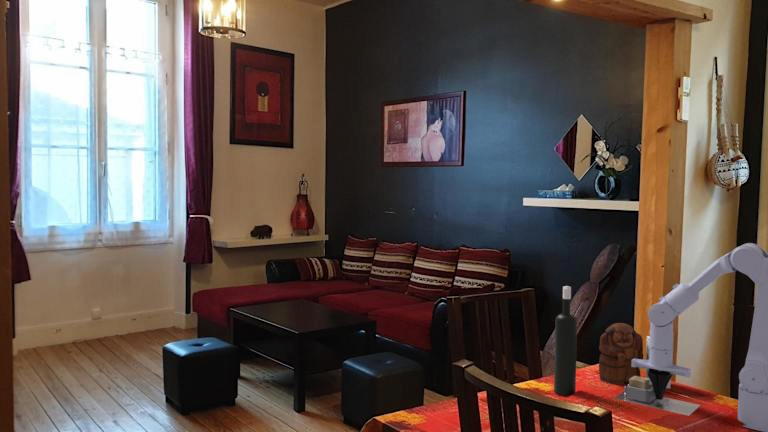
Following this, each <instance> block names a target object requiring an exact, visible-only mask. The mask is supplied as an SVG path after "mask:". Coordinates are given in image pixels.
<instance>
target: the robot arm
mask: <svg viewBox="0 0 768 432" xmlns="http://www.w3.org/2000/svg"><path fill="white" fill-rule="evenodd" d="M737 271H738V272H740V273H741V274H744V275H746V276H748V278H749V279H751V280H752V282H753V283H754V284H755V285H757V286H756V287H757V289H756V297H755V303H754V309H753V317H752V325H751V331H750V336H749V337H750V338H749V344H748V350H747V353H746V357H745V363H744V366H743V367H742V368H741V370H740V371H739V373H738V379H739V380H738V381H739V384H738V401H737V402H738V404H737V406H738V407H737V420H738V421H739V422H741V423H743V425H742V426H741V427H742V428H745V429H750V430H753V431H754V430H755V431H759V432H768V252H767V251H766V250H764V249H763V248H762V247H761V246H760V245H758V244H756V243H753V242H747V243H744V244H742V245H740V246H737V247H736V248H734V249H733V250H732V251H730V252H728V253H727V254H725V255H722V256H721V257H719V258H717V259H716V260H715V261H714V262H712V263H711V264H710V265H709V266H708V267H707V268H706V269H704V270H703V271H702V272H701V273H700V274H698V276H696V277H695V278H694V279H693V280H692V281H690V282H681V283H679V284H678V283H676V284H675V285H673V286H672V290H671V291H670V292H669V293H667V294H666V295H664V296H663V295H662V296H661V297H660V298H658V300H659V302H657V303H654V304H652V305H651V306H650V308H649V309H648V312H647V317H648V320H649V323H650V327H649V336H650V341H649V360H646V359H643V360H642V359H635V358H634V359H632V362H631V367H639V368H640V369H644V370H646V369H649V372H648V377H649V379H650V381H651V383H652V385H653V388H654V392H655V397H656V399H659V400H662V399H663V397H665V391H666V389H667V388H666V387H667V384H668V382H669V380H670V379H671V380H672V377H673V375H676V376H682V377H684V378H687V379H689V378H690V377H692V376H691V375H692V369H691V368H689V367H683V366H681V365H680V366H679V365H677V364H674V363H673V361H674V360H673V358H674V354H673V353H674V321H675V320H676V318H677V316H680V315H681V314H682V313H684V312H685V311H687V310H688V309H689V308H690V307H692V305H694V304H696V302H698V301H699V299H700V292H701V291H703V290H704V289H705V288H707V287H708V286H709V285H711V284H712V283H713V282H714V281H716V280H717V279H718V278H720V277H721V276H723V275H725V274H730V273H734V272H737Z"/></svg>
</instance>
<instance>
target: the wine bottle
mask: <svg viewBox="0 0 768 432" xmlns="http://www.w3.org/2000/svg"><path fill="white" fill-rule="evenodd" d="M571 299H572V286H569V285H565V286H562V313H559V314H558V315H557V316H556V317H555V327H554V328H555V329H554V333H555V334H554V373H553V374H554V378H553V379H554V380H553V392H554V394H555V393H556V394H555V395H557V394H558V395H557V396H561V395H564V396H563V397H571V396H574V394H576V387H577V386H576V383H577V381H576V378H577V347H578V346H577V343H578V342H577V341H578V338H577V337H578V335H577V333H578V320H577V317H576V316H575V315H574V314H571Z"/></svg>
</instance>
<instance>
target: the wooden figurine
mask: <svg viewBox="0 0 768 432" xmlns="http://www.w3.org/2000/svg"><path fill="white" fill-rule="evenodd" d="M643 341H644V340H643V337H642V335H641V334H640V333H639V332H637V331H636V329H634V328H633V326H631V325H629V324H627V323H624V322H616V323H612V324H610V325H609V326H608V327H607V328H606V329H605V332H603V333H602V334H601V336H599V347H598V350H599V352H600V354H599V360H598V361H599V363H598V375H599V380H600V382H604V383H606V384H609V385H616V386H617V385H618V386H624V385H628V384H629V379H630V378H632V377H634V376H639V377H642V375H641V368H639V367H631V362H632V359H634V358H635V359H642V360H644V353H643V352H644V343H643Z"/></svg>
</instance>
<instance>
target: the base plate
mask: <svg viewBox="0 0 768 432" xmlns="http://www.w3.org/2000/svg"><path fill="white" fill-rule="evenodd" d="M623 386H624V385H623ZM627 386H629V384H627V385H625V386H624V388H623V389H624V390H623V392H620V393H619V394H617V395H616V396H615V397H613V399H615V400H619V401H624V402H628V403H633V404H635V405H640V406H645V407H650V408H655V409H658V410H663V411H668V412H670V413H676V414H679V415H684V416H689V417H690V415H692V414H693V413H694V412H695V411H696V410H698V409H699V408H700V406H701V404H697V403H692V402H687V401H684V400H678V399H673V398H670V397H665V396H663V399H662V400H659V399H656V398H655V399H654V400H653V401H651V402H650V403H647V402H643V401H639V400H634V399H630V398H626V393H627Z"/></svg>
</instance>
